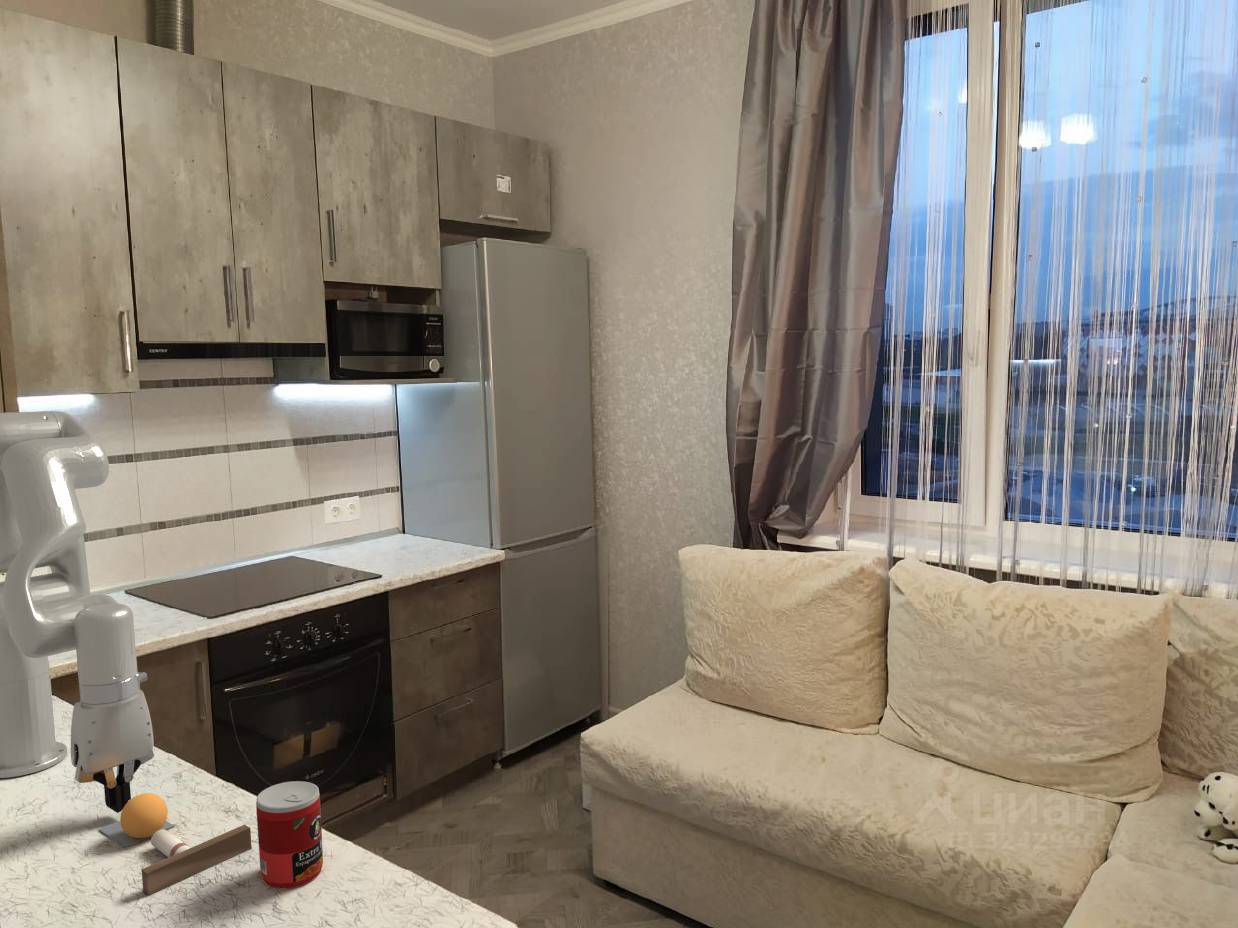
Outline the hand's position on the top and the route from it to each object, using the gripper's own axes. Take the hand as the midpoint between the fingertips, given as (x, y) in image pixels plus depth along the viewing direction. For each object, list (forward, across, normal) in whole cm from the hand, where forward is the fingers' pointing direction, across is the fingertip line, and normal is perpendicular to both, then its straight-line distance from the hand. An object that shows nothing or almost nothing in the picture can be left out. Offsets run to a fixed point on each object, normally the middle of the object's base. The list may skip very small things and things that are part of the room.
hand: (118, 807), depth 134 cm
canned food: (+2, -7, +34) cm, 35 cm away
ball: (-2, 0, +9) cm, 9 cm away
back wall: (+2, 0, +24) cm, 24 cm away
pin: (0, 0, +13) cm, 13 cm away
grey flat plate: (+2, 0, +6) cm, 6 cm away
